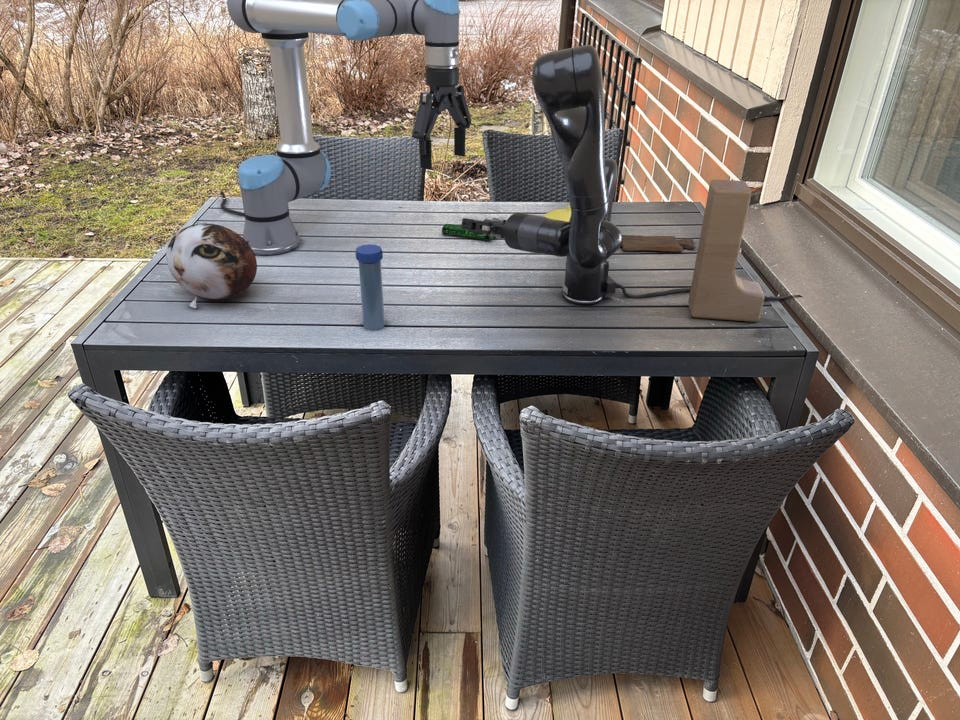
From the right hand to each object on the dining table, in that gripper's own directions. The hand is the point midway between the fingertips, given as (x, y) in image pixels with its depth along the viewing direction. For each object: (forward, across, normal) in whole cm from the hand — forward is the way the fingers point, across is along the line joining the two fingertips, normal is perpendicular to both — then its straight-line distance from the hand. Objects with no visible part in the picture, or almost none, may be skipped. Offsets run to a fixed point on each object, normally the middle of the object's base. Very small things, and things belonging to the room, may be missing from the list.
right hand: (476, 223), depth 158 cm
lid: (+8, +23, +7) cm, 25 cm away
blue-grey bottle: (+10, +18, +24) cm, 32 cm away
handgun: (+36, -35, +5) cm, 51 cm away
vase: (+19, -57, +2) cm, 61 cm away
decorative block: (-39, -44, +14) cm, 60 cm away
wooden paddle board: (-4, -64, +3) cm, 64 cm away
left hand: (+18, -4, -13) cm, 22 cm away
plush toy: (+47, +37, +24) cm, 64 cm away
